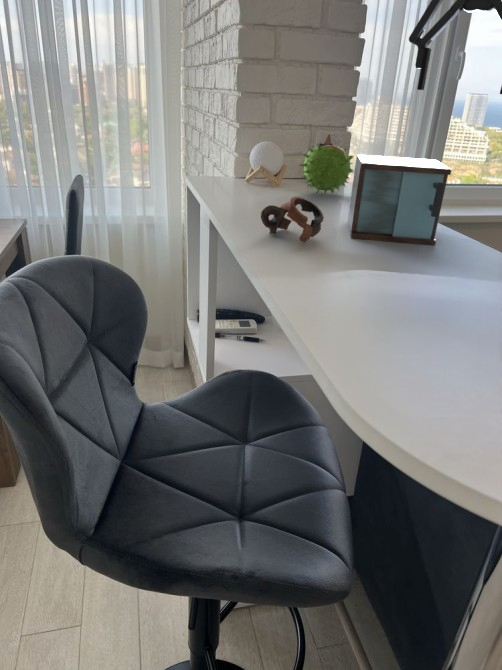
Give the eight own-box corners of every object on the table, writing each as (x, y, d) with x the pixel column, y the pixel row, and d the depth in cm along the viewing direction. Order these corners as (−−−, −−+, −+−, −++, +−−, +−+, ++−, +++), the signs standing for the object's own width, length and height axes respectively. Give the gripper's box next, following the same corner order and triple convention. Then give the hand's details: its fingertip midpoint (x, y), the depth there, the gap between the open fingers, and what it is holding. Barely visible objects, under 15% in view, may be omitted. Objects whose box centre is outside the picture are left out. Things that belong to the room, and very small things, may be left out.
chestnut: (281, 158, 132) (307, 141, 142) (300, 209, 138) (323, 189, 148) (332, 141, 123) (355, 124, 133) (349, 196, 128) (371, 177, 138)
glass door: (429, 239, 97) (444, 172, 92) (434, 245, 93) (449, 176, 88) (392, 236, 98) (403, 169, 93) (395, 242, 94) (407, 173, 89)
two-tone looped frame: (295, 229, 104) (317, 197, 99) (311, 261, 99) (335, 230, 93) (246, 218, 97) (266, 183, 92) (260, 252, 92) (282, 217, 87)
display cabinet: (422, 227, 109) (436, 159, 103) (435, 245, 97) (451, 169, 90) (347, 221, 110) (356, 154, 104) (350, 238, 98) (361, 163, 92)
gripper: (406, -61, 80) (384, 87, 90) (585, -71, 71) (539, 96, 81) (414, -49, 87) (393, 88, 96) (580, -57, 77) (538, 96, 87)
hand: (460, 92), depth 88 cm, fingers open, 13 cm apart
